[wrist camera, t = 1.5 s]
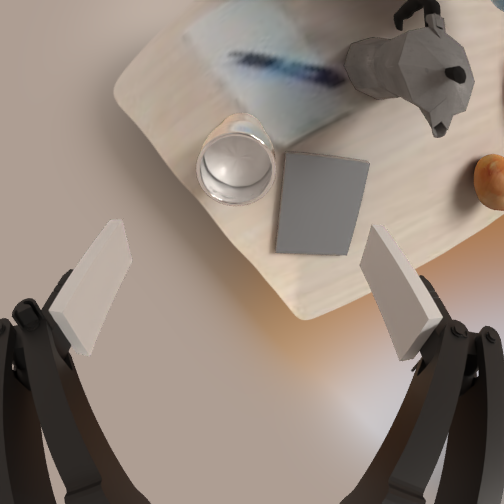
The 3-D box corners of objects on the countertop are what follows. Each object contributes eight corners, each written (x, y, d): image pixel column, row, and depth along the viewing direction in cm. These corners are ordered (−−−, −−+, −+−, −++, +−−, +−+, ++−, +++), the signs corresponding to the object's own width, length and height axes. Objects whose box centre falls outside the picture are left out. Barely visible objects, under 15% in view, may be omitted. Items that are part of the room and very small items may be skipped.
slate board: (285, 151, 35) (286, 153, 34) (366, 160, 36) (369, 163, 35) (275, 248, 45) (275, 252, 44) (344, 251, 45) (346, 255, 44)
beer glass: (238, 99, 31) (230, 111, 19) (278, 132, 34) (296, 168, 22) (204, 137, 34) (177, 176, 22) (243, 168, 37) (240, 222, 25)
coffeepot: (405, 114, 31) (491, 153, 16) (346, 112, 32) (417, 146, 17) (397, 16, 22) (484, 2, 7) (334, 7, 23) (400, -34, 8)
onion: (501, 157, 32) (535, 180, 24) (483, 201, 38) (514, 228, 30) (475, 137, 31) (513, 158, 23) (456, 186, 37) (490, 214, 29)
